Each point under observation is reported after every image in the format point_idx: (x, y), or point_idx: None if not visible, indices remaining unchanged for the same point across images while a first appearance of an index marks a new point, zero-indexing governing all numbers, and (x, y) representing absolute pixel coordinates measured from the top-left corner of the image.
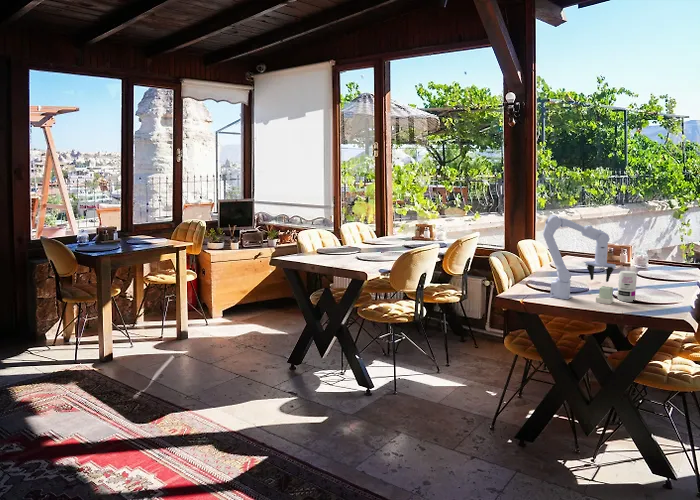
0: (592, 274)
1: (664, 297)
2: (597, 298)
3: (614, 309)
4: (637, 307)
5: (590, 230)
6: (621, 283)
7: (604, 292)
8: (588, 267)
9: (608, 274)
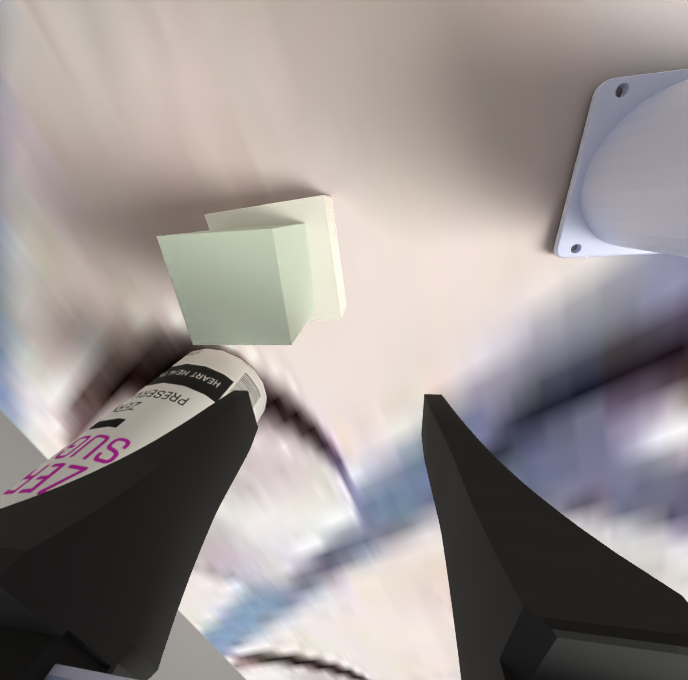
0: (441, 473)
1: None
2: (311, 197)
3: (106, 32)
4: (80, 251)
5: None
6: (148, 433)
7: (238, 229)
8: (670, 641)
9: (132, 457)
